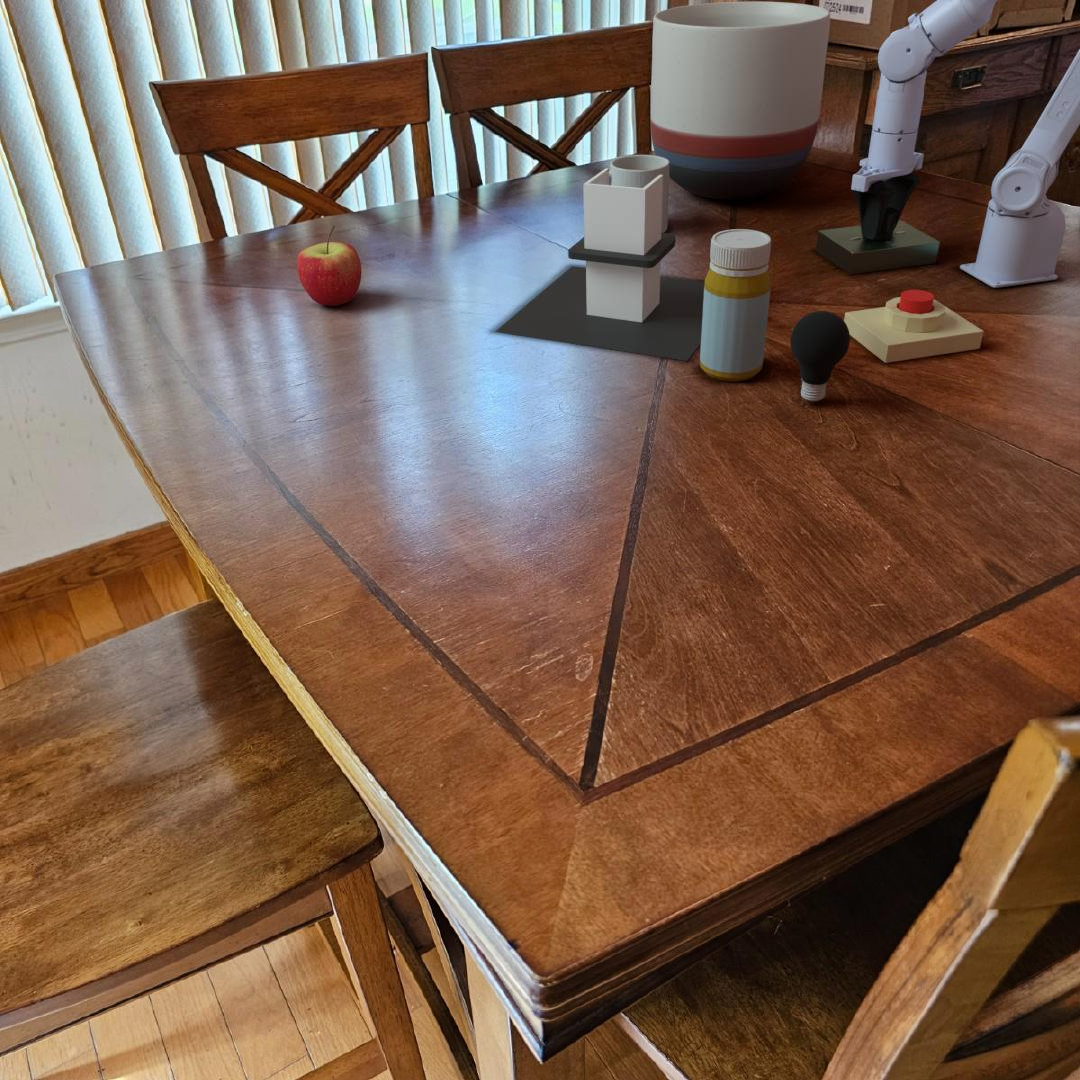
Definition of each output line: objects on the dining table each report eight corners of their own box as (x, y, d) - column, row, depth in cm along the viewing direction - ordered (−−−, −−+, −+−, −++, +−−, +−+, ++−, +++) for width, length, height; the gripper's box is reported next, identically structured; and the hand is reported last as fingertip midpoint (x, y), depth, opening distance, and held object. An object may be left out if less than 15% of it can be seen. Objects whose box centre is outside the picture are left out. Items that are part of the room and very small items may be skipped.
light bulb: (841, 417, 102) (855, 326, 96) (783, 413, 103) (793, 323, 97) (839, 391, 106) (852, 303, 101) (783, 388, 108) (793, 300, 102)
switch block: (931, 316, 122) (937, 285, 119) (979, 348, 114) (987, 316, 111) (842, 329, 119) (847, 297, 117) (885, 363, 111) (891, 330, 109)
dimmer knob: (873, 229, 139) (877, 201, 137) (898, 235, 137) (903, 207, 135) (857, 236, 137) (861, 208, 135) (882, 242, 135) (887, 214, 133)
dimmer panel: (897, 240, 144) (901, 219, 142) (935, 263, 136) (940, 240, 134) (815, 251, 142) (818, 229, 140) (849, 274, 134) (853, 252, 132)
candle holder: (743, 287, 132) (753, 160, 122) (687, 360, 114) (694, 219, 105) (572, 266, 141) (569, 146, 131) (495, 331, 123) (485, 198, 114)
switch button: (920, 302, 116) (923, 287, 115) (937, 313, 113) (940, 298, 112) (892, 306, 116) (895, 291, 115) (909, 317, 113) (911, 303, 112)
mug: (677, 224, 154) (679, 158, 148) (649, 242, 148) (650, 174, 142) (616, 215, 159) (616, 150, 153) (586, 232, 153) (585, 166, 147)
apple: (379, 299, 133) (368, 226, 128) (328, 319, 128) (315, 243, 123) (341, 286, 138) (330, 214, 132) (291, 304, 133) (277, 231, 127)
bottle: (766, 360, 113) (779, 230, 105) (756, 386, 108) (769, 252, 99) (706, 353, 115) (714, 225, 107) (693, 379, 110) (701, 247, 101)
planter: (831, 180, 170) (854, 4, 154) (776, 226, 151) (796, 31, 136) (688, 164, 182) (695, -2, 166) (621, 205, 163) (622, 23, 148)
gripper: (896, 114, 135) (880, 214, 143) (837, 135, 128) (824, 239, 135) (944, 121, 131) (925, 223, 139) (886, 144, 123) (869, 250, 131)
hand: (878, 232), depth 137 cm, fingers closed on dimmer knob, 4 cm apart
